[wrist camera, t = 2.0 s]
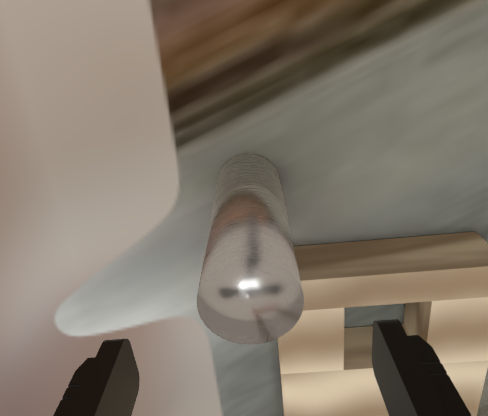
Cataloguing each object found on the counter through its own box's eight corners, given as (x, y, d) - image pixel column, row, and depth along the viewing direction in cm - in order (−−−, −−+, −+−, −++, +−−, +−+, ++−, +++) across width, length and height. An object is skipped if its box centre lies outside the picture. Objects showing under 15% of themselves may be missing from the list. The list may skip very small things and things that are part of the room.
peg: (213, 156, 25) (189, 263, 14) (277, 150, 25) (302, 254, 14) (221, 213, 27) (205, 347, 16) (281, 208, 27) (305, 340, 16)
